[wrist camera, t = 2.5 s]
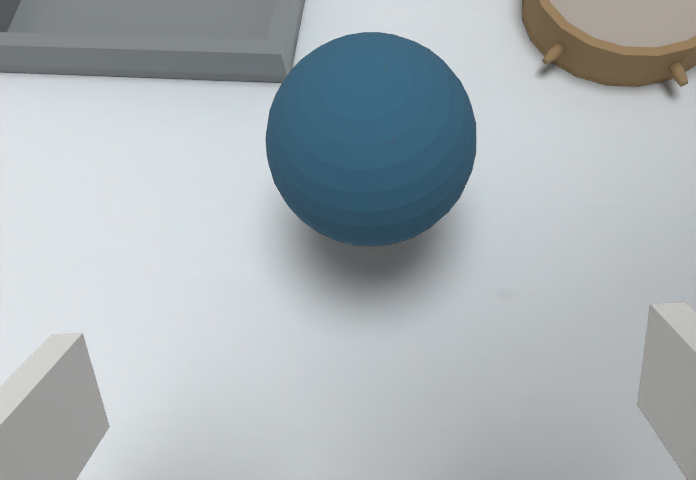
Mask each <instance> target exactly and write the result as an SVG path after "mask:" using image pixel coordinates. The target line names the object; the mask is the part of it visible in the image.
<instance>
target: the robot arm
mask: <svg viewBox="0 0 696 480" xmlns="http://www.w3.org/2000/svg"><path fill="white" fill-rule="evenodd" d="M637 405H638V407H639V408H640V410H641V411H642V413H643V414H644V416H645V417H646V419H647V420H648V422H649V423H650V425H651V426H652V428H653V429H654V431H655V432H656V434H657V435H658V437H659V438H660V440H661V441H662V443H663V444H664V446H665V447H666V449H667V450H668V452H669V453H670V455H671V456H672V458H673V459H674V461H675V462H676V464H677V465H678V467H679V468H680V470H681V471H682V473H683V474H684V476H685V477H686V479H687V480H696V311H695V310H694V309H693V308H692V307H691V306H689V305H688V304H687V303H686V302H674V303H655V304H650V309H649V316H648V324H647V332H646V340H645V348H644V356H643V364H642V372H641V380H640V388H639V396H638V403H637ZM109 427H110V426H109V423H108V419H107V416H106V412H105V409H104V406H103V402H102V399H101V395H100V392H99V388H98V385H97V381H96V378H95V374H94V371H93V367H92V364H91V361H90V357H89V354H88V350H87V347H86V343H85V340H84V336H83V333H76V334H56V335H51V336H50V337H49V338H48V339H47V340H46V341H45V342H44V343H43V344H42V345H41V346H40V347H39V348H38V349H37V350H36V351H35V352H34V353H33V354H32V355H31V356H30V357H29V358H28V359H27V360H26V361H25V362H24V363H23V364H22V365H21V366H20V367H19V368H18V369H17V370H16V371H15V373H14V374H13V375H12V376H11V377H10V378H9V379H8V380H7V381H6V382H5V383H4V384H3V385H2V386H1V387H0V480H76V479H77V477H78V476H79V474H80V473H81V471H82V469H83V468H84V466H85V465H86V463H87V462H88V460H89V458H90V457H91V455H92V454H93V452H94V450H95V449H96V447H97V446H98V444H99V442H100V441H101V439H102V438H103V436H104V435H105V433H106V431H107V430H108V428H109Z"/></svg>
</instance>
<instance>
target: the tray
mask: <svg viewBox="0 0 696 480" xmlns="http://www.w3.org/2000/svg"><path fill="white" fill-rule="evenodd" d="M304 1H305V0H0V72H16V73H43V74H69V75H95V76H122V77H148V78H174V79H201V80H227V81H253V82H280V83H283V81H284V80H285V78H286V77H287V75H288V74H289V72H290V71H291V70H292V66H293V60H294V55H295V50H296V44H297V39H298V33H299V28H300V23H301V17H302V12H303V7H304Z"/></svg>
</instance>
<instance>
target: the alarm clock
mask: <svg viewBox="0 0 696 480" xmlns="http://www.w3.org/2000/svg"><path fill="white" fill-rule="evenodd" d="M522 19H523V22H524V24H525V27H526V30H527V32H528V35H529V37H530V40H531V41H532V42H533V44H534V45H535V46H536V47H537V48H538V49H539V50H540V51H541V52H542V53H543V54H544V56H545V57H544V58H543V60H542V61H543V63H544V64H546V65H547V64H549V63H551V62H552V63H554V64H555V65H557V66H559V67H560V68H562V69H564V70H566V71H567V72H569V73H571V74H572V75H574V76H576V77H579V78H583V79H586V80H590V81H593V82H597V83H600V84H603V85H611V86H635V87H640V86H644V85H649V84H654V83H658V82H663V81H667V80H671V79H672V78H674V79H675V81H676V82H677V83H678V84H679V85H680V86H684V85H686V84H687V83H688V80H687V76H686V73H685V71H687V70H689V69H690V68H692V67H694V66H695V65H696V0H523V2H522Z"/></svg>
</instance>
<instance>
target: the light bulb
mask: <svg viewBox="0 0 696 480" xmlns="http://www.w3.org/2000/svg"><path fill="white" fill-rule="evenodd" d="M266 151H267V158H268V163H269V167H270V170H271V174H272V177H273V180H274V183H275V185H276V187H277V188H278V190H279V192H280V194H281V195H282V197H283V199H284V200H285V202H286V203H287V205H288V206H289V207H290V209H291V210H292V211H293V212H294V213H295V214H296V215H297V216H298V217H299V218H300V219H301V220H302V221H303V222H305V223H306V224H307V225H309V226H310V227H312V228H313V229H314V230H316V231H317V232H319V233H321V234H323V235H325V236H328V237H330V238H332V239H334V240H337V241H339V242H343V243H348V244H352V245H356V246H382V245H389V244H395V243H398V242H401V241H404V240H407V239H410V238H413V237H415V236H417V235H418V234H420V233H422V232H424V231H425V230H427V229H429V228H430V227H431V226H433V225H434V224H435V223H436V222H437V221H438V220H440V219H441V218H442V217H443V216H444V215H446V214H447V213H448V212H449V211H450V209H451V208H452V207H453V205H454V204H455V203H456V202H457V200H458V199H459V198H460V196H461V194H462V192H463V190H464V188H465V185H466V183H467V181H468V179H469V177H470V175H471V172H472V169H473V164H474V160H475V155H476V122H475V118H474V114H473V110H472V106H471V103H470V100H469V97H468V95H467V93H466V91H465V89H464V87H463V85H462V83H461V81H460V80H459V79H458V77H457V76H456V75H455V74H454V73H453V71H452V70H451V69H450V68H449V67H448V65H447V64H446V63H445V62H444V61H443V60H442V59H441V58H440V57H438V56H437V55H436V54H435V53H433V52H432V51H431V50H430V49H428V48H426V47H424V46H422V45H420V44H418V43H417V42H414V41H412V40H409V39H406V38H403V37H400V36H396V35H393V34H386V33H380V32H363V33H357V34H351V35H346V36H343V37H340V38H337V39H334V40H332V41H330V42H328V43H326V44H324V45H322V46H320V47H318V48H317V49H315V50H314V51H312V52H311V53H309V54H308V55H307V56H305V57H304V58H303V59H301V60H300V61H299V62H298V63H297V64H296V66H295V67H294V68H293V69H292V70H291V71H290V72H289V74H288V75H287V77H286V78H285V80H284V81H283V83H282V84H281V86H280V88H279V90H278V91H277V93H276V95H275V98H274V100H273V103H272V105H271V108H270V112H269V118H268V125H267V132H266Z"/></svg>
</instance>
